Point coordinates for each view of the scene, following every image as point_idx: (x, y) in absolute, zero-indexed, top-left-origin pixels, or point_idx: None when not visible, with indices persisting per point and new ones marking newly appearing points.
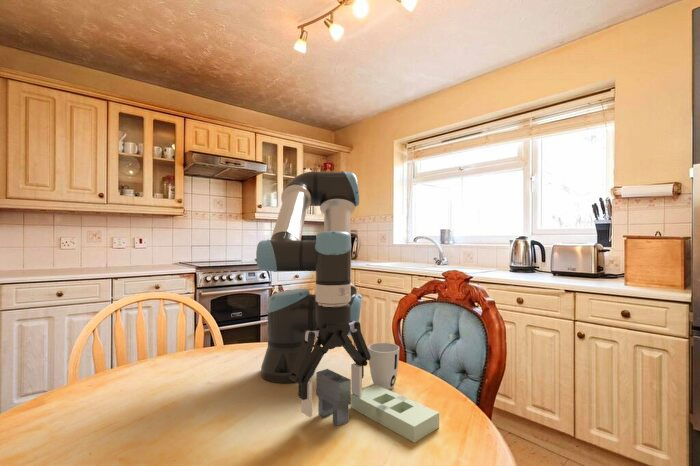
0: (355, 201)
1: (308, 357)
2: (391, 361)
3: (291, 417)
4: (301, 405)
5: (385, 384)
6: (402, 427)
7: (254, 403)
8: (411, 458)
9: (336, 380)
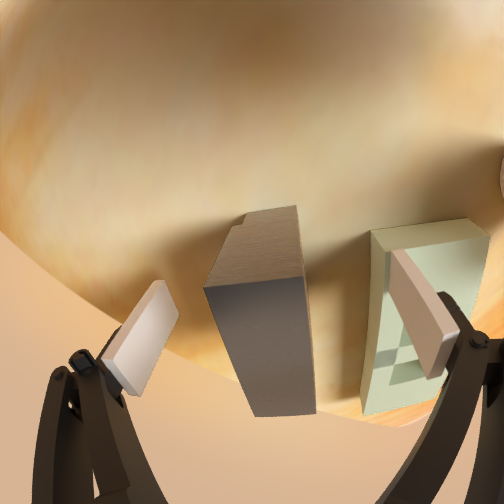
0: None
1: (88, 477)
2: None
3: (161, 183)
4: (145, 293)
5: None
6: (364, 390)
7: (91, 53)
8: (321, 408)
9: (259, 399)
